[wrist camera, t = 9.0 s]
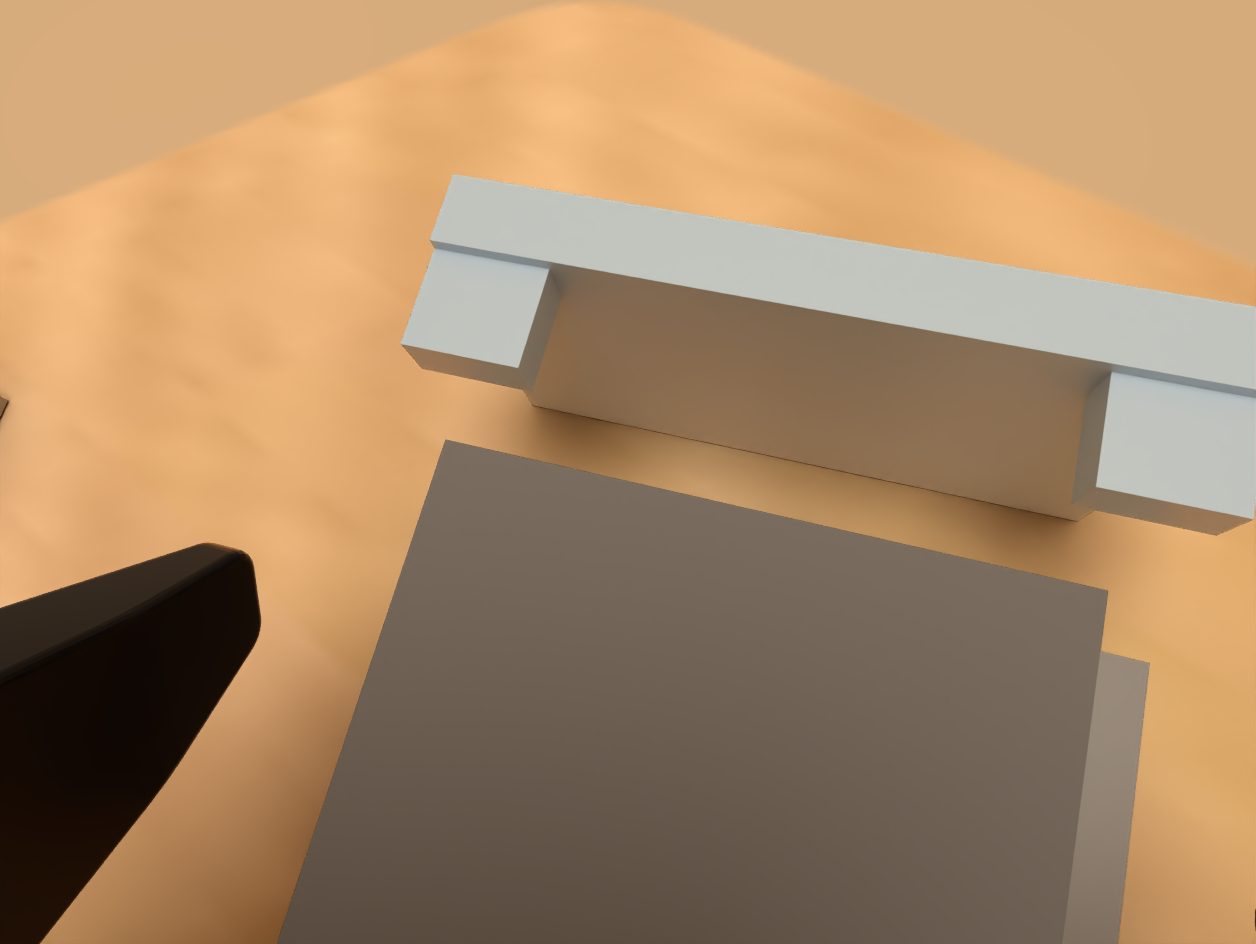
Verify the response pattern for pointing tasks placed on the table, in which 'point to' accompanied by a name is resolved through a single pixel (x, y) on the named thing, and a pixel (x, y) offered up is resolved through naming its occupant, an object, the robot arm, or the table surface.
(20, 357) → the table surface
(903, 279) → the rails
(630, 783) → the grey tall block
